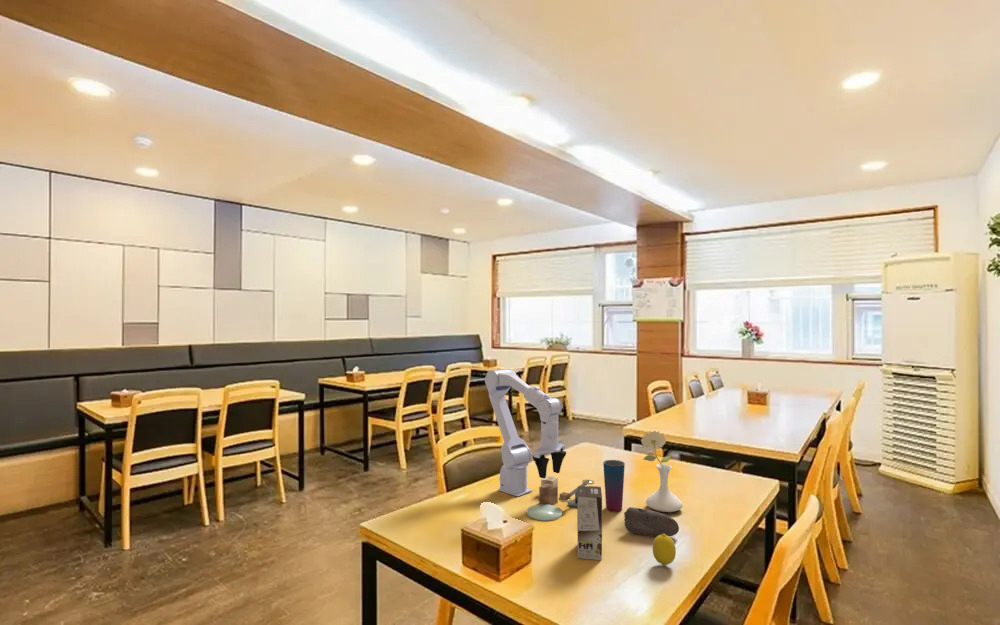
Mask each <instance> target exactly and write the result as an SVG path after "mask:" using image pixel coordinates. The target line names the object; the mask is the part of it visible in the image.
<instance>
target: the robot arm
mask: <svg viewBox="0 0 1000 625" xmlns="http://www.w3.org/2000/svg"><path fill="white" fill-rule="evenodd" d="M484 383H485V386H486V389H487V392H488V397H489V401H490V403H491V406H492V409H493V413H494V415H495V418H496V421H497V424H498V427H499V432H500V433H501V435H502V439H503V444H502V446H501V447H500V451H501V452H500V453H501V461H502V463H503V465H502V466H501V468H500V471H499V488H498V491H499V492H503V493H506V494H508V495H512V496H515V497H520V496H523V495H525V494H527V493H531V492H533V489H531V488H529V487H528V485H527V484H528V480H527V479H528V466H529V463H531V460H532V459H533V462H534V464H535V465H536V467H537V468H536V469H537V472H538V475H539V476H538V477H539V478H541V479H542V478H546V476H547V470H548V469H547V468H548V464H549V460H550V458H549V457H548V458H547V457H546V456H547V455H549V454H550V456H551V461H552V462H551V464H552V472H553V473H556V474H560V472H561V469H562V463H563V461H564V459H565V457H566V454H567V451H566V448H565V447H566V444H564V443H559V414H560V413H562V410H563V405H562V402H561V400H560V399H559V398H558V397H556V396H554V397H551V396H550V395H549V394H548V393H545V392H543V391H542V390H541V388H540V386H535V385H533V386H530V385H529V384H527V383H526V382H525V381H524V380H523V379H522V378H520V376H518V375H517V372H516V371H514V370H512V369H511V368H505V369H504V368H503V369H496V370H495V369H494V370H493V369H491V370H488V371H487V373H486V375H485V378H484ZM511 388H512V389H514V390H516V391H517V392H519V393H521V394H522V395H524V400H525V401H527V402H528V403H530V404H531V405H532V406H533V407H534V408H536V409H537V412H538V414H539V419H540V421H541V422H540V425H541V426H540V447H539V448H537V449H536V450H534V451H533V455H532V452H531V449H530V448H529V446H528V445H527V443H526V441H525V440H524V439H522V438H520V436H519V434H518V432H517V428H516V425H515V422H514V420H513V417H512V414H511V411H510V408H509V405H508V401H507V399H506V394H508V392H509V390H510V389H511Z"/></svg>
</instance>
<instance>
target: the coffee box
mask: <svg viewBox="0 0 1000 625" xmlns="http://www.w3.org/2000/svg"><path fill="white" fill-rule="evenodd" d="M577 487H578V498H577V499H578V500H577V508H576V509H577V516H576V517H577V523H576V524H577V526H576V527H577V529H576V530H577V559H585V560H594V561H595V560H596V561H601V560H602V559H603V558H602V555H603V554H602V553H603V551H602V550H603V549H602V548H603V493H602V486H596V485H595V486H593V485H590V486H589V485H586V486H580V485H578V486H577Z"/></svg>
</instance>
